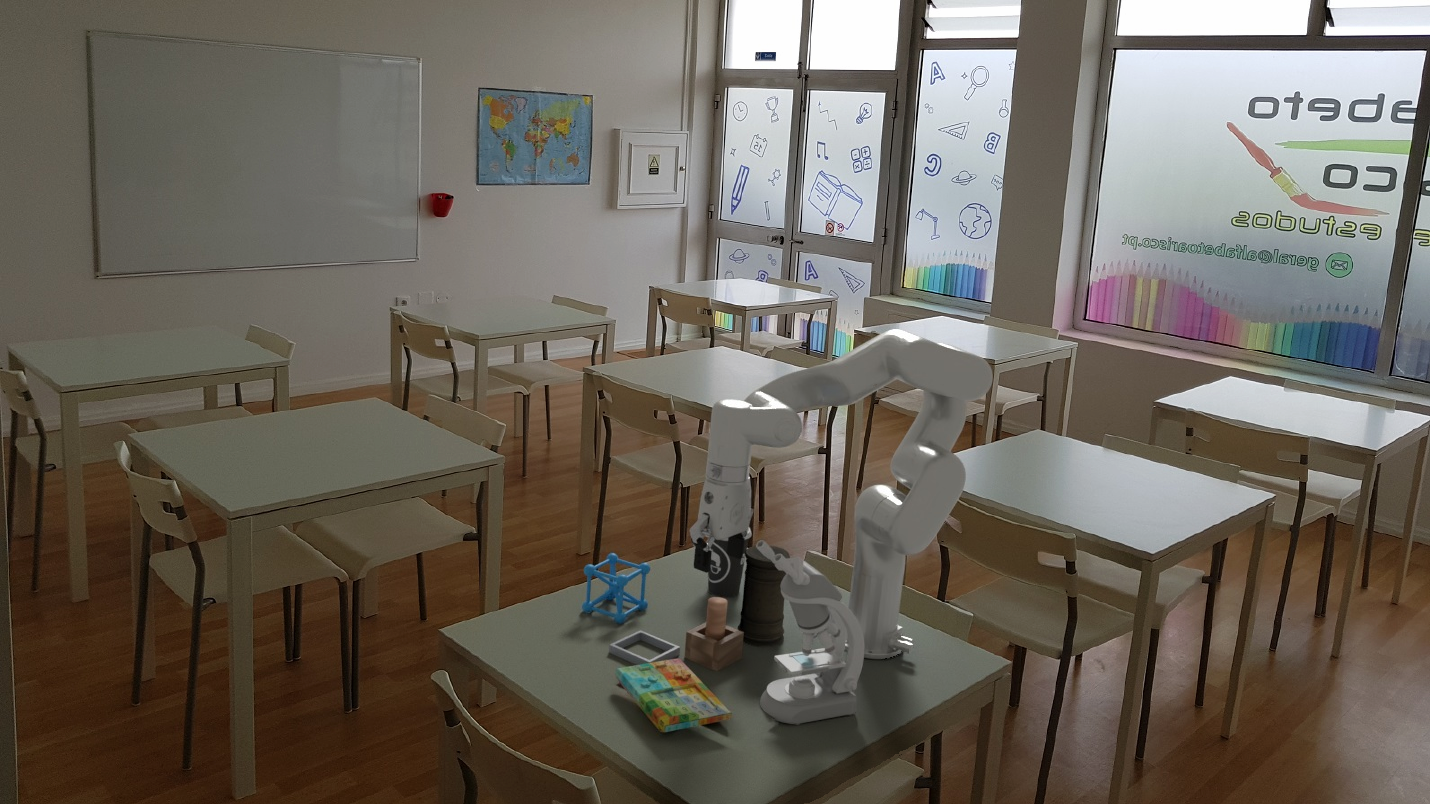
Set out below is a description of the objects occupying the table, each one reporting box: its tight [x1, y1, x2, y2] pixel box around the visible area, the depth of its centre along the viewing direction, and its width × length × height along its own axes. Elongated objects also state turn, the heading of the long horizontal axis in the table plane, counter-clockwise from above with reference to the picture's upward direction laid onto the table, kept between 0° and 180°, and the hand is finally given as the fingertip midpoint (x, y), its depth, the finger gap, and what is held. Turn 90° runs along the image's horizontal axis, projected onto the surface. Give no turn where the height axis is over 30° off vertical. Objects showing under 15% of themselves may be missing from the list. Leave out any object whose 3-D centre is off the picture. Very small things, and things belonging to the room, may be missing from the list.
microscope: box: [755, 539, 865, 726], centre depth 187 cm, size 11×19×30 cm, turn 116°
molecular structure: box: [581, 552, 651, 624], centre depth 222 cm, size 10×10×10 cm
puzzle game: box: [615, 657, 733, 733], centre depth 187 cm, size 12×5×20 cm
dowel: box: [705, 596, 728, 641], centre depth 203 cm, size 4×4×11 cm
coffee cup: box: [707, 526, 752, 598], centre depth 235 cm, size 10×10×15 cm
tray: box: [608, 629, 681, 665], centre depth 204 cm, size 10×8×2 cm
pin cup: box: [684, 621, 744, 672], centre depth 204 cm, size 7×7×6 cm
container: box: [737, 544, 791, 648], centre depth 213 cm, size 9×9×18 cm
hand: (718, 563), depth 200 cm, fingers open, 9 cm apart
